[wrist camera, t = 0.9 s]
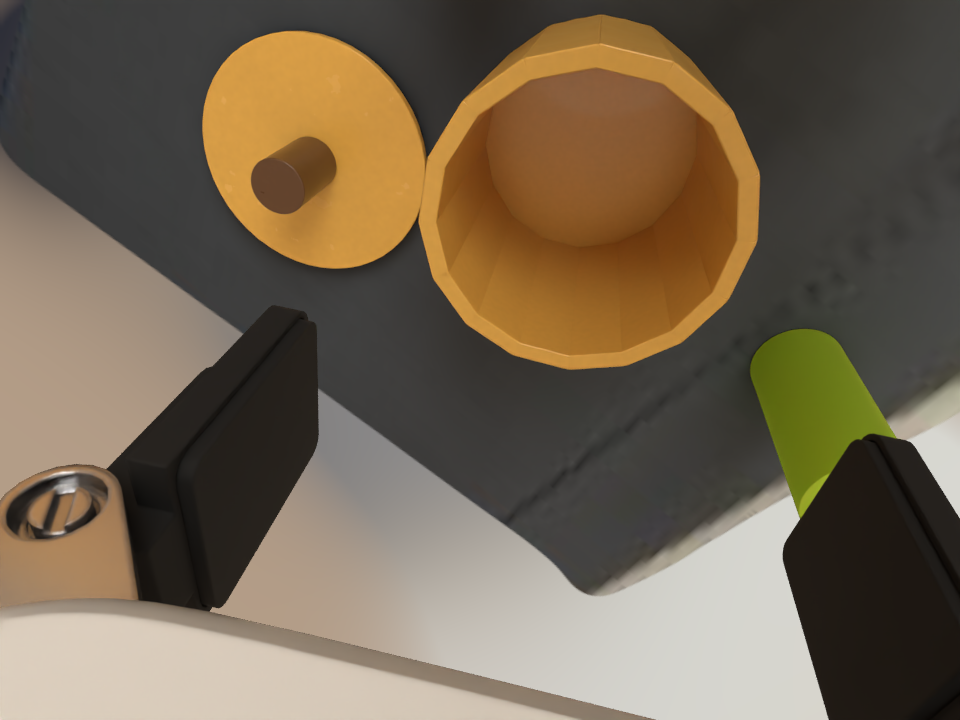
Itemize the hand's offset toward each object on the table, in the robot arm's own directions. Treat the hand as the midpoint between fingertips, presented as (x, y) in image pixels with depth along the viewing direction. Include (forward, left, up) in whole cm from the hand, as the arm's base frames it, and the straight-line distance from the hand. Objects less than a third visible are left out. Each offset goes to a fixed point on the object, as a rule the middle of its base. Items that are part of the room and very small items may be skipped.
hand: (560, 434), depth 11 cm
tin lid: (0, -17, -29) cm, 34 cm away
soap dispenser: (+19, +12, -30) cm, 37 cm away
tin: (+2, 0, -29) cm, 29 cm away
